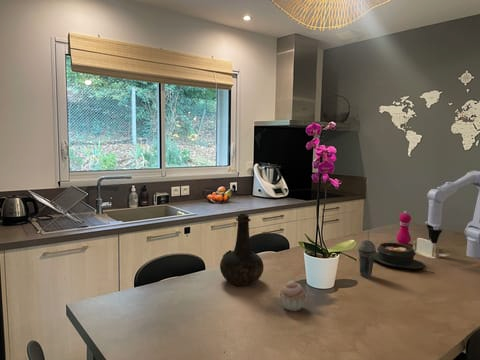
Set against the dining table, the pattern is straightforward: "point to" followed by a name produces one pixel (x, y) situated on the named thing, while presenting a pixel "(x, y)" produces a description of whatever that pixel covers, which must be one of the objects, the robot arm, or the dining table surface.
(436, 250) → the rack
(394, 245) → the casserole
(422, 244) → the white upright panel
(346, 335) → the dining table surface
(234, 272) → the glass bottle
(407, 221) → the pepper mill
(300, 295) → the cupcake
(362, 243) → the beverage cup
